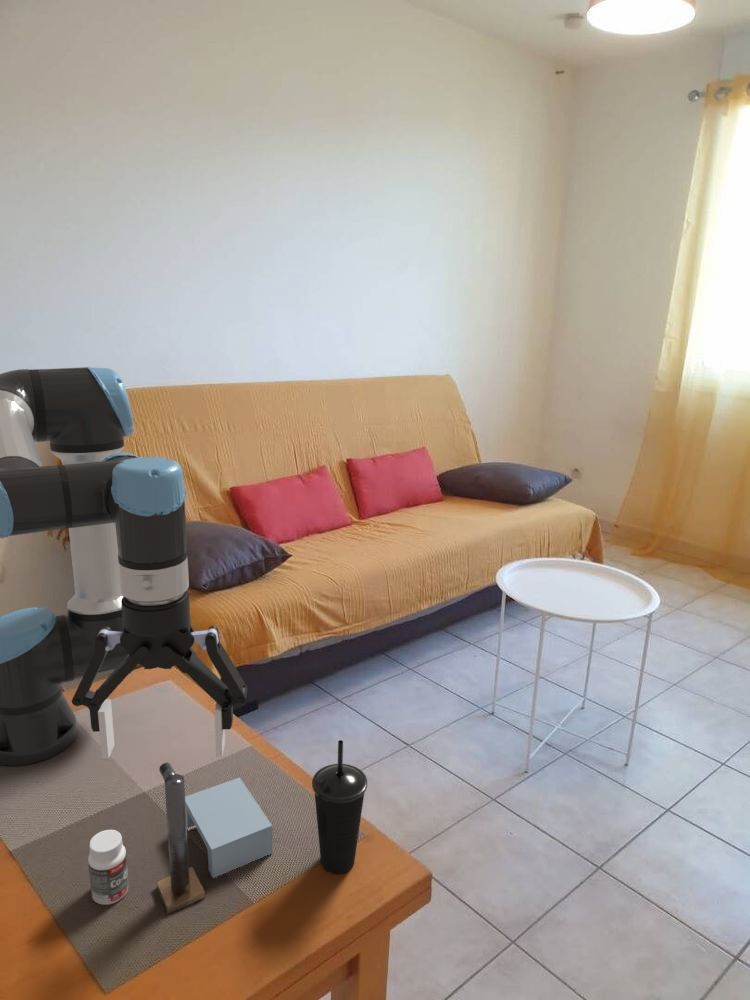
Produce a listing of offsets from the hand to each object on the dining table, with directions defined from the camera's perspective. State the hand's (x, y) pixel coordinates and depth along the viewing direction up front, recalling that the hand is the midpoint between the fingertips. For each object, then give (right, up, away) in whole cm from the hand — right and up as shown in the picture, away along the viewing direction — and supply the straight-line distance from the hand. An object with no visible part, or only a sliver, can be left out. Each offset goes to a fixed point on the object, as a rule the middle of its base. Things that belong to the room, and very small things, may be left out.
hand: (164, 751), depth 89 cm
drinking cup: (+21, -21, +14) cm, 33 cm away
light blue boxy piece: (+4, -19, +18) cm, 26 cm away
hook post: (0, -22, +8) cm, 23 cm away
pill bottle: (-10, -22, +8) cm, 25 cm away
